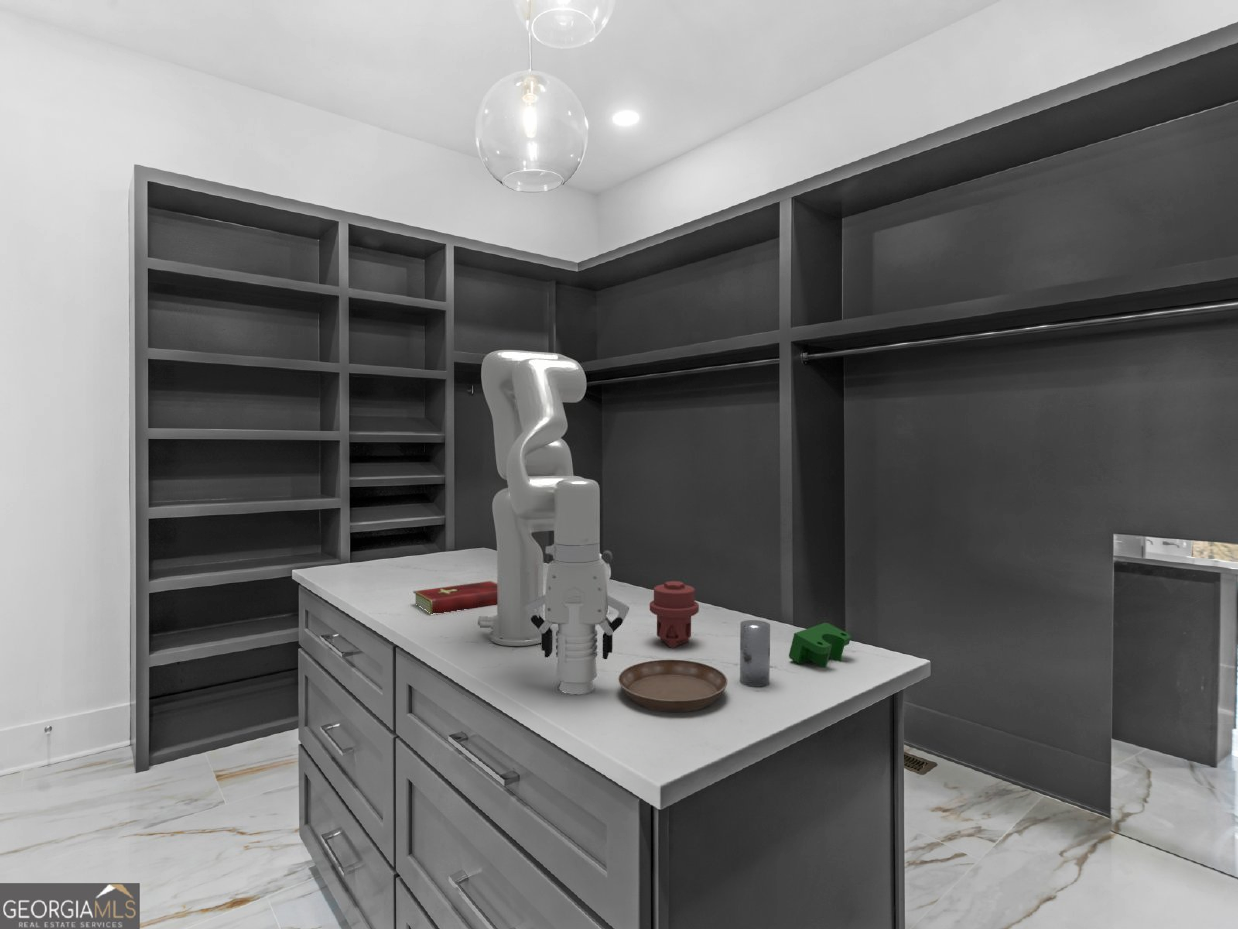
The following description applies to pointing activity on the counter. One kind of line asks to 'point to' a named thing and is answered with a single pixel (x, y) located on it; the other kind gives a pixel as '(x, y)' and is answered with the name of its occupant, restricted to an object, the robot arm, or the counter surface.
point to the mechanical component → (674, 611)
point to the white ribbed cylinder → (576, 653)
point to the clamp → (818, 644)
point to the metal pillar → (754, 653)
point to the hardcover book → (457, 597)
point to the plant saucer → (673, 685)
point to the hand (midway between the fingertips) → (577, 655)
